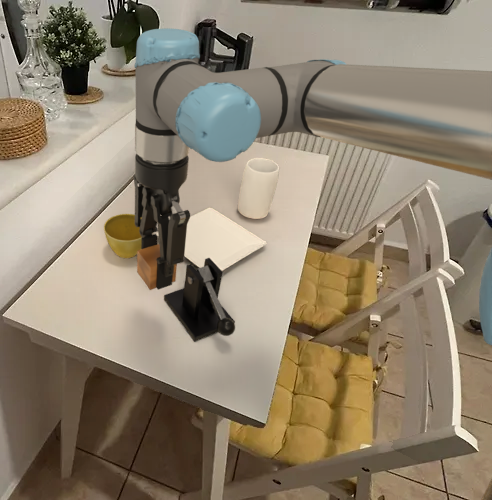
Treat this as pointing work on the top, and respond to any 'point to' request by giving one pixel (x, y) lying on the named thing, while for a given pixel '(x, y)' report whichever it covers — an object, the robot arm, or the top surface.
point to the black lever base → (197, 302)
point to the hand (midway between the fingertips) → (156, 275)
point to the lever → (216, 303)
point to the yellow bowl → (123, 235)
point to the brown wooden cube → (150, 265)
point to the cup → (258, 187)
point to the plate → (218, 240)
